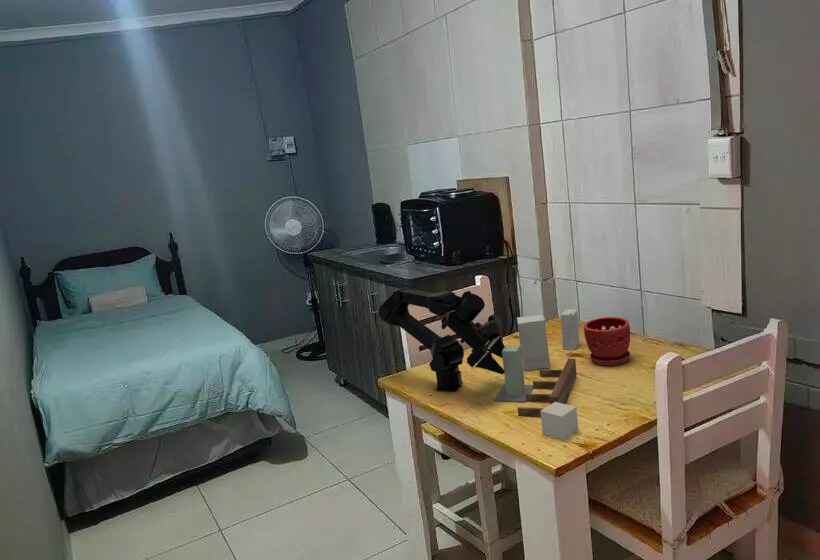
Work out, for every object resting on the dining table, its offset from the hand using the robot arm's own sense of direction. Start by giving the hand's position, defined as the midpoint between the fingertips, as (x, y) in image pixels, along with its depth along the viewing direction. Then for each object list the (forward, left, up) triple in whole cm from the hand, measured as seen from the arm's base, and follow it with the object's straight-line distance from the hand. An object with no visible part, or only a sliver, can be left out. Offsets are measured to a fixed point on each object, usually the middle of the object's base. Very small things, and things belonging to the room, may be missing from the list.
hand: (508, 366), depth 172 cm
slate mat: (+1, 0, -8) cm, 8 cm away
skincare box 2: (+10, +39, -8) cm, 41 cm away
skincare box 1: (+2, +21, -8) cm, 22 cm away
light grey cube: (+18, -21, -8) cm, 29 cm away
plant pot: (+23, +27, -8) cm, 37 cm away
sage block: (+1, 0, -7) cm, 8 cm away
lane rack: (+11, 0, -8) cm, 13 cm away
